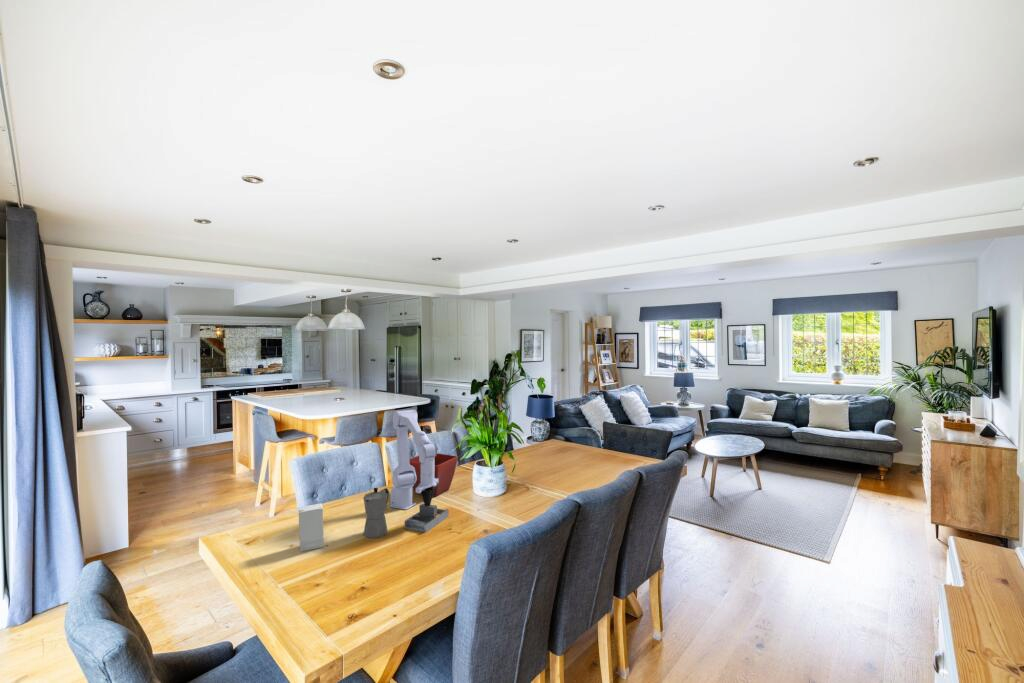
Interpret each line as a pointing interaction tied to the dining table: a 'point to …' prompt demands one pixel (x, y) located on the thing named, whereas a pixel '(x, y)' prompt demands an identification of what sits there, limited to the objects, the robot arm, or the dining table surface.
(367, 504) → the coffeepot
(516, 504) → the dining table surface
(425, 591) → the dining table surface
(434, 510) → the block
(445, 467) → the plant pot
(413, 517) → the rack
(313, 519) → the skincare box
